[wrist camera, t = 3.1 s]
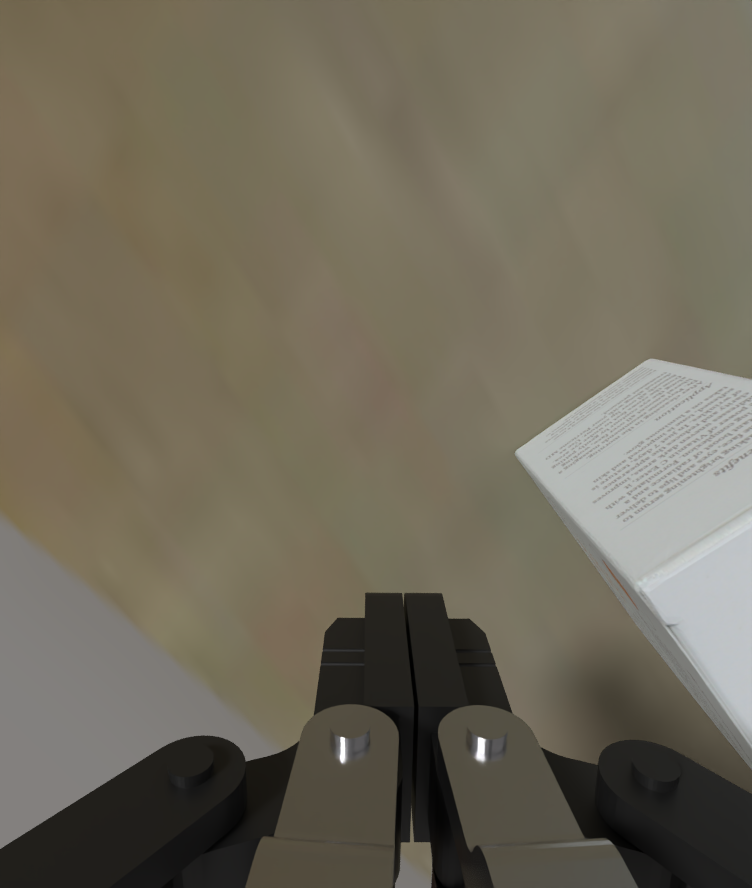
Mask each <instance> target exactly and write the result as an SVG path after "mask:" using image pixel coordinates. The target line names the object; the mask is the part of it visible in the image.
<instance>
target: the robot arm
mask: <svg viewBox="0 0 752 888" xmlns="http://www.w3.org/2000/svg"><path fill="white" fill-rule="evenodd" d="M411 809H412V821H413V833H414V842H430V844H431V853H432V878H431V888H752V794H750V793H749V792H747V791H745V790H743V789H742V788H740V787H738V786H736V785H735V784H733V783H731V782H729V781H727V780H726V779H724V778H722V777H720V776H719V775H717V774H715V773H713V772H712V771H710V770H708V769H706V768H705V767H703V766H701V765H699V764H698V763H696V762H694V761H692V760H691V759H689V758H687V757H685V756H683V755H682V754H680V753H678V752H676V751H674V750H672V749H670V748H667V747H665V746H662V745H659V744H656V743H652V742H647V741H640V740H624V741H619V742H616V743H613V744H611V745H609V746H607V747H606V748H605V749H604V750H603V751H602V753H601V755H600V757H599V762H598V765H595V764H590V763H586V762H582V761H578V760H574V759H570V758H566V757H563V756H559V755H557V754H554V753H552V752H549V751H547V750H545V749H543V748H541V747H540V745H539V743H538V741H537V739H536V737H535V735H534V733H533V731H532V730H531V728H530V727H529V726H528V725H527V724H526V723H525V722H524V721H523V720H522V719H520V718H519V717H517V716H516V715H514V714H513V713H512V710H511V708H510V705H509V702H508V699H507V696H506V693H505V690H504V687H503V684H502V681H501V678H500V675H499V672H498V669H497V667H496V666H495V661H494V658H493V655H492V653H491V649H490V646H489V643H488V640H487V637H486V634H485V633H484V632H483V631H482V630H481V629H480V628H479V627H478V626H477V625H476V624H474V623H473V622H472V621H471V620H470V619H448V617H447V612H446V608H445V604H444V600H443V596H442V593H405V594H404V607H403V598H402V593H365V618H337V619H336V621H335V622H334V623H333V624H332V625H331V626H330V627H329V628H328V629H327V630H326V632H325V637H324V644H323V652H322V659H321V666H320V674H319V681H318V689H317V696H316V703H315V711H314V716H313V717H312V718H311V719H310V720H309V721H308V722H307V723H306V725H305V726H304V728H303V731H302V733H301V737H300V741H299V742H297V743H296V744H295V745H293V746H292V747H290V748H288V749H286V750H284V751H282V752H280V753H277V754H274V755H271V756H267V757H263V758H259V759H255V760H251V761H247V762H245V757H244V755H243V752H242V751H241V750H240V749H239V747H238V746H236V745H235V744H234V743H232V742H230V741H228V740H226V739H223V738H220V737H215V736H194V737H188V738H184V739H181V740H177V741H175V742H172V743H170V744H168V745H166V746H164V747H162V748H161V749H159V750H157V751H156V752H154V753H153V754H151V755H149V756H148V757H146V758H145V759H143V760H142V761H140V762H138V763H137V764H135V765H133V766H132V767H130V768H129V769H127V770H125V771H124V772H122V773H121V774H119V775H117V776H116V777H115V778H113V779H111V780H110V781H108V782H107V783H105V784H103V785H102V786H100V787H98V788H97V789H95V790H94V791H92V792H90V793H89V794H87V795H86V796H84V797H83V798H81V799H79V800H78V801H76V802H75V803H73V804H71V805H70V806H68V807H66V808H65V809H63V810H62V811H60V812H58V813H57V814H55V815H54V816H52V817H51V818H49V819H47V820H46V821H44V822H43V823H41V824H39V825H38V826H36V827H35V828H33V829H32V830H30V831H28V832H27V833H25V834H23V835H22V836H20V837H19V838H17V839H15V840H14V841H12V842H11V843H9V844H8V845H6V846H4V847H3V848H2V849H0V888H395V882H396V880H397V878H398V875H399V871H400V848H401V842H410V820H411Z"/></svg>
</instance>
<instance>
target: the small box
mask: <svg viewBox="0 0 752 888" xmlns="http://www.w3.org/2000/svg"><path fill="white" fill-rule="evenodd" d="M515 455H516V457H517V459H518V460H519V461H520V463H521V464H522V465H523V467H524V468H525V470H526V471H527V472H528V474H529V475H530V476H531V478H532V479H533V481H534V482H535V483H536V485H537V486H538V488H539V489H540V490H541V492H542V493H543V495H544V496H545V497H546V499H547V500H548V502H549V503H550V504H551V506H552V507H553V509H554V510H555V511H556V513H557V514H558V516H559V517H560V518H561V520H562V521H563V523H564V524H565V525H566V527H567V528H568V529H569V531H570V532H571V534H572V535H573V536H574V538H575V539H576V541H577V542H578V543H579V545H580V546H581V548H582V549H583V550H584V552H585V553H586V555H587V556H588V557H589V559H590V560H591V562H592V563H593V565H594V566H595V567H596V569H597V570H598V572H599V573H600V574H601V576H602V577H603V579H604V580H605V582H606V583H607V584H608V586H609V587H610V589H611V590H612V591H613V593H614V594H615V596H616V597H617V598H618V600H619V601H620V602H621V604H622V605H623V607H624V608H625V609H626V611H627V612H628V614H629V615H630V617H631V618H632V619H633V621H634V622H635V624H636V625H637V626H638V627H639V629H640V630H641V631H642V633H643V634H644V635H645V637H646V638H647V639H648V640H649V642H650V643H651V644H652V646H653V647H654V648H655V649H656V651H657V652H658V653H659V654H660V656H661V657H662V658H663V660H664V661H665V662H666V663H667V665H668V666H669V667H670V668H671V670H672V671H673V672H674V673H675V675H676V676H677V677H678V679H679V680H680V681H681V682H682V684H683V685H684V686H685V687H686V689H687V690H688V691H689V692H690V694H691V695H692V696H693V698H694V699H695V700H696V701H697V703H698V704H699V705H700V706H701V708H702V709H703V710H704V711H705V713H706V714H707V715H708V716H709V717H710V719H711V720H712V721H713V722H714V724H715V725H716V726H717V728H718V729H719V730H720V731H721V733H722V734H723V735H724V736H725V738H726V739H727V740H728V741H729V742H730V744H731V745H732V746H733V747H734V749H735V750H736V751H737V752H738V754H739V755H740V756H741V757H742V758H743V760H744V761H745V762H746V763H747V765H748V766H749V767H750V768H751V770H752V379H748V378H744V377H739V376H734V375H729V374H724V373H720V372H715V371H710V370H705V369H700V368H696V367H691V366H686V365H681V364H676V363H671V362H666V361H661V360H657V359H648V360H646V361H645V362H643V363H642V364H640V365H639V366H637V367H636V368H634V369H633V370H632V371H630V372H629V373H627V374H626V375H624V376H623V377H621V378H620V379H618V380H617V381H615V382H614V383H613V384H611V385H610V386H608V387H607V388H605V389H604V390H602V391H601V392H599V393H598V394H596V395H595V396H594V397H592V398H591V399H589V400H588V401H586V402H585V403H583V404H582V405H581V406H579V407H578V408H576V409H575V410H573V411H572V412H570V413H569V414H567V415H566V416H565V417H563V418H562V419H560V420H559V421H557V422H556V423H554V424H553V425H552V426H550V427H549V428H547V429H546V430H544V431H543V432H541V433H540V434H539V435H537V436H536V437H535V438H533V439H532V440H530V441H529V442H528V443H526V444H525V445H523V446H522V447H520V448H519V449H517V450H516V452H515Z"/></svg>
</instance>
